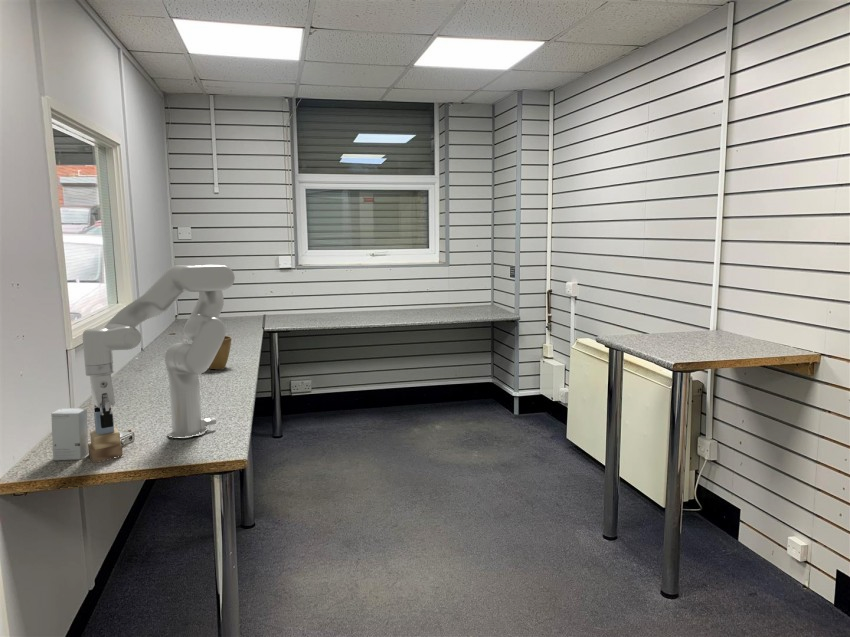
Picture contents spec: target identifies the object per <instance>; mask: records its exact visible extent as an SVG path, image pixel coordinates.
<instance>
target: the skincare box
mask: <svg viewBox="0 0 850 637" xmlns="http://www.w3.org/2000/svg"><path fill="white" fill-rule="evenodd" d="M50 416H51V436H52V440H51V441H52V459H53V461H67V460H69V461H70V460H71V461H72V460H74V461H75V460H77V461H78V460H82V459H83V458H84V457H86V456H87V455H89V450H88V444H89V435H88V433H89V431H88V430H89V429H88V428H89V426H88V409H87V408H76V407H73V408H59V409H57V410H55V411H53V412H51V415H50Z"/></svg>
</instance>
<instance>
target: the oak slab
mask: <svg viewBox="0 0 850 637" xmlns="http://www.w3.org/2000/svg"><path fill="white" fill-rule="evenodd" d="M89 434H90V435H89V436H90V443H91V444H92V446H93V447H94V449H95V450H97V449H102V448H107V447H112V446H117V445H122V442H121V432H120V431H119V430H118V428H117V427H116V426H114V432H112V433H107V434H101V435H98V434H97V433H96V430H90V431H89Z"/></svg>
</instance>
